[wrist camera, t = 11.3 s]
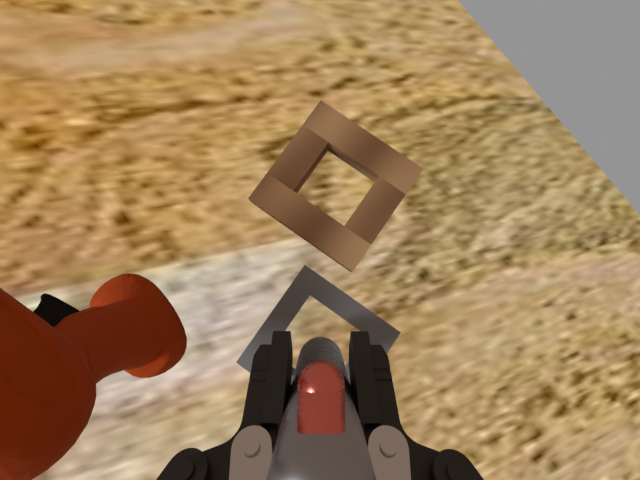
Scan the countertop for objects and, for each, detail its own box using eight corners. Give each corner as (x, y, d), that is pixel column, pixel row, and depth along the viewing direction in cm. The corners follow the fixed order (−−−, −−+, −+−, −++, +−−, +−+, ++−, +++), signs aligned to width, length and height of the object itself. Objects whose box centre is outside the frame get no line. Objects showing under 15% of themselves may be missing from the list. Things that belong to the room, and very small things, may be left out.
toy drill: (39, 141, 23) (-423, -44, 8) (205, 339, 24) (62, 498, 9) (-19, 182, 23) (-608, 68, 8) (153, 382, 24) (-86, 619, 9)
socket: (241, 356, 23) (235, 362, 21) (305, 265, 24) (304, 264, 22) (332, 423, 23) (333, 434, 21) (395, 328, 23) (400, 332, 22)
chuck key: (342, 398, 19) (382, 613, 7) (298, 398, 19) (260, 613, 7) (342, 311, 19) (378, 369, 7) (298, 311, 19) (264, 369, 7)
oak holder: (252, 203, 24) (247, 198, 23) (320, 111, 25) (320, 100, 23) (350, 271, 24) (352, 271, 22) (416, 175, 25) (423, 168, 23)
